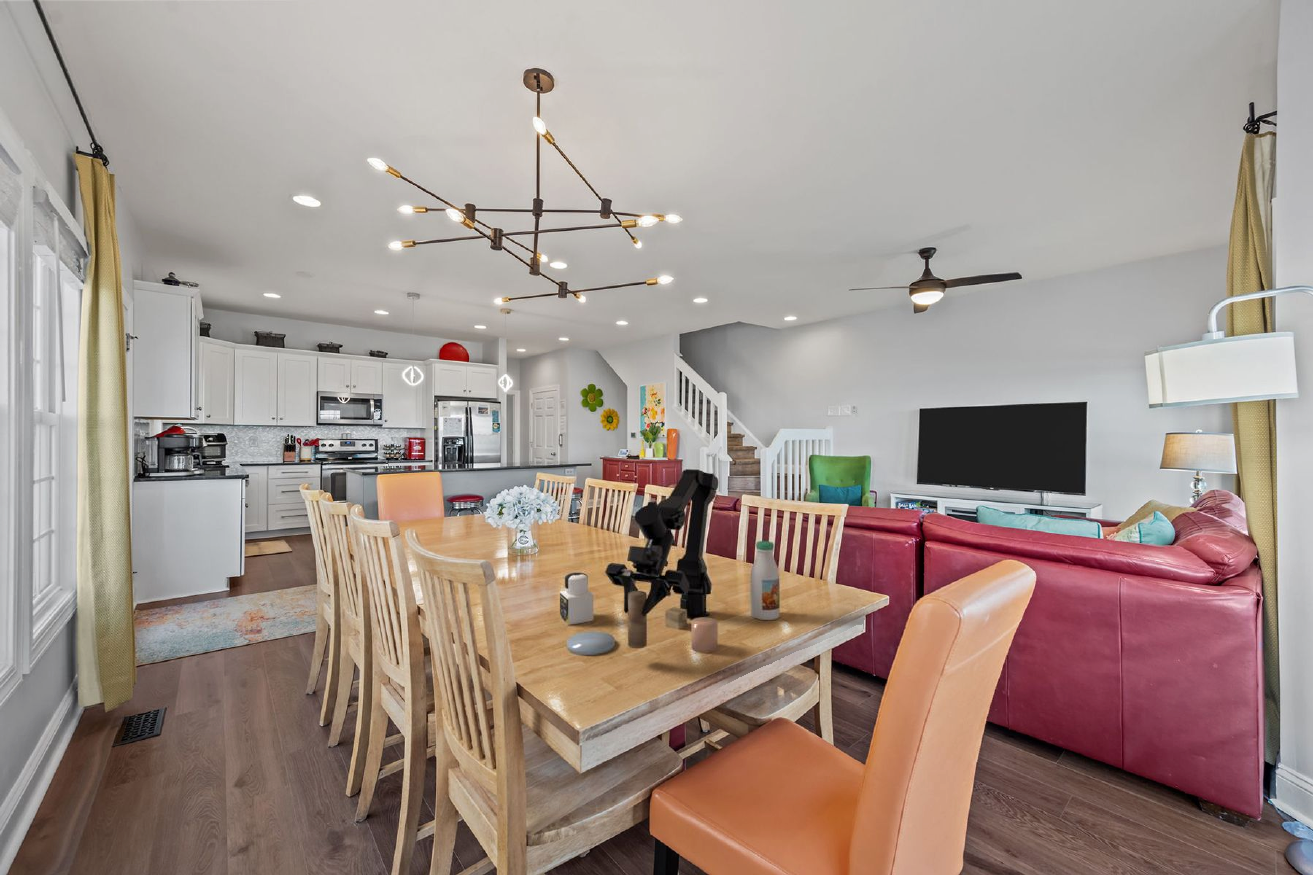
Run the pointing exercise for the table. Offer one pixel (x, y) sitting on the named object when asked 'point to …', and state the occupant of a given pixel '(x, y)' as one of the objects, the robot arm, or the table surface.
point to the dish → (590, 643)
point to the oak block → (676, 618)
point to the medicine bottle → (576, 600)
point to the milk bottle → (765, 584)
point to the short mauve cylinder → (704, 635)
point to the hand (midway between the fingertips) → (634, 613)
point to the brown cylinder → (637, 619)
